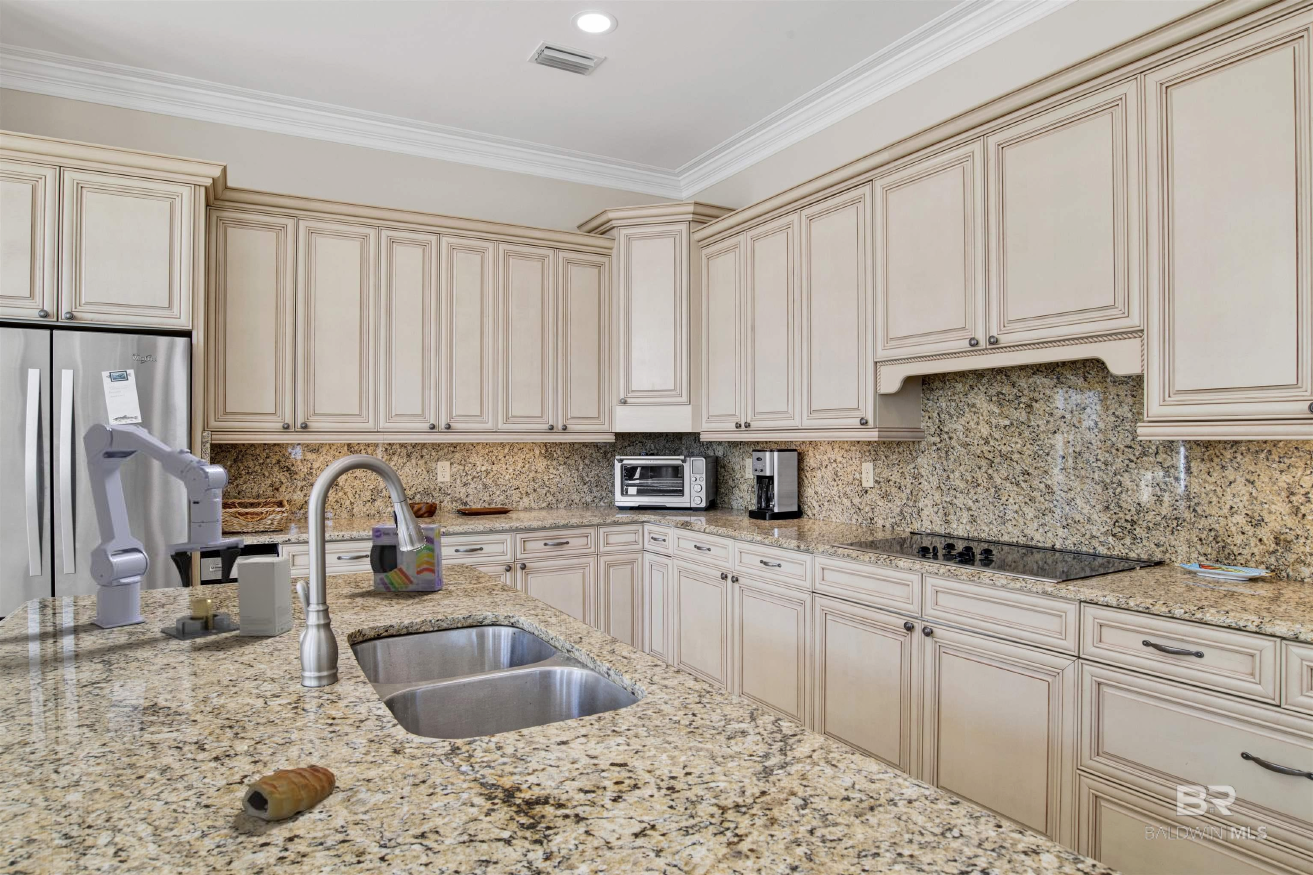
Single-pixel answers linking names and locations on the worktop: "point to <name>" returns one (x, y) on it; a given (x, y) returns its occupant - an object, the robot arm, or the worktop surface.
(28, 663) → the worktop surface
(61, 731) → the worktop surface
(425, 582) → the cake pan box
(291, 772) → the pastry
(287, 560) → the skincare box
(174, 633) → the hub plate
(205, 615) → the gold metal block
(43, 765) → the worktop surface
